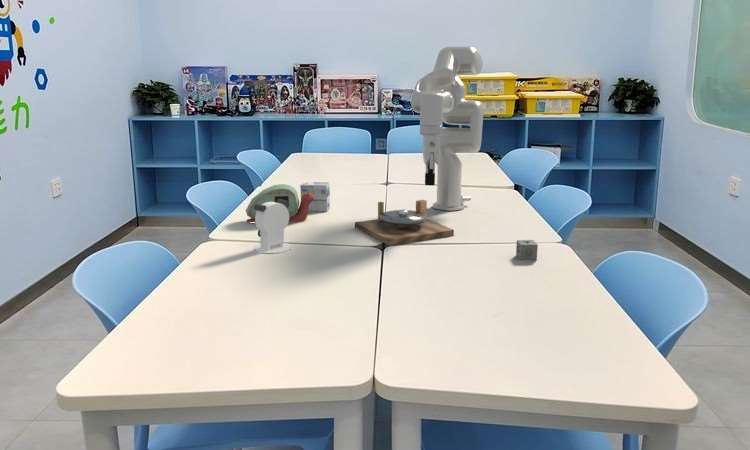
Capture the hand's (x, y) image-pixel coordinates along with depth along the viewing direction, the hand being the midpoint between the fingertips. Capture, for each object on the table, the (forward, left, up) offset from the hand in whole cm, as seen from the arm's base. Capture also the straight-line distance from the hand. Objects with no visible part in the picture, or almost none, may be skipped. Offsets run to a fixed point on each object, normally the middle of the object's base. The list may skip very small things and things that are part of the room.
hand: (429, 184), depth 220 cm
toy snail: (+40, -39, -17) cm, 58 cm away
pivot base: (+8, -5, -17) cm, 19 cm away
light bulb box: (+22, -49, -17) cm, 56 cm away
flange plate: (+6, -5, -12) cm, 14 cm away
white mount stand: (+54, -8, -17) cm, 57 cm away
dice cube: (-10, +38, -17) cm, 43 cm away
